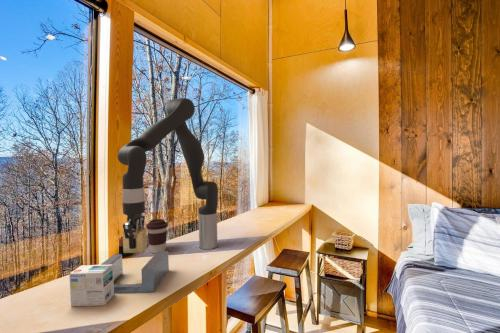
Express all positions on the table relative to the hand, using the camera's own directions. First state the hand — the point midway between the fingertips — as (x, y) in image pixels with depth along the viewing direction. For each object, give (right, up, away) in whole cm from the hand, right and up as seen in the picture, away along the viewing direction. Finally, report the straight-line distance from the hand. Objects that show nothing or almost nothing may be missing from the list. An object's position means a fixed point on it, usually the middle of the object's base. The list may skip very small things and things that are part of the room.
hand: (135, 246), depth 98 cm
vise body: (-3, -13, +1) cm, 14 cm away
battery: (-17, -13, +26) cm, 34 cm away
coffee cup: (-3, -12, +31) cm, 34 cm away
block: (0, -2, 0) cm, 2 cm away
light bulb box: (-8, -14, -13) cm, 21 cm away
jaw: (-11, -13, 0) cm, 17 cm away
